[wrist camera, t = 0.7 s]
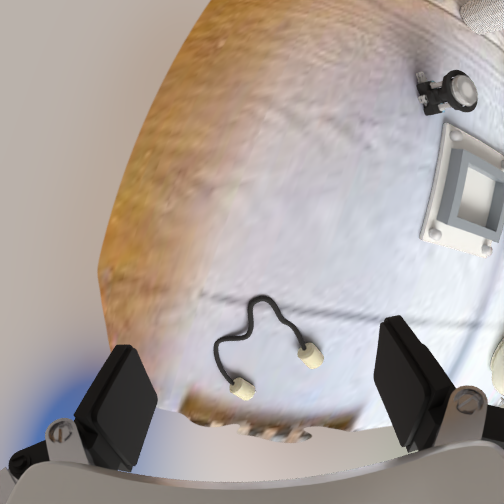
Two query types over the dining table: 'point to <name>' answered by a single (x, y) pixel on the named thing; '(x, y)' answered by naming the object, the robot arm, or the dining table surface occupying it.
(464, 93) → the push button
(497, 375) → the kettle
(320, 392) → the dining table surface
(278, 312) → the cable
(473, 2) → the cup
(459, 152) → the frame
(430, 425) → the robot arm
